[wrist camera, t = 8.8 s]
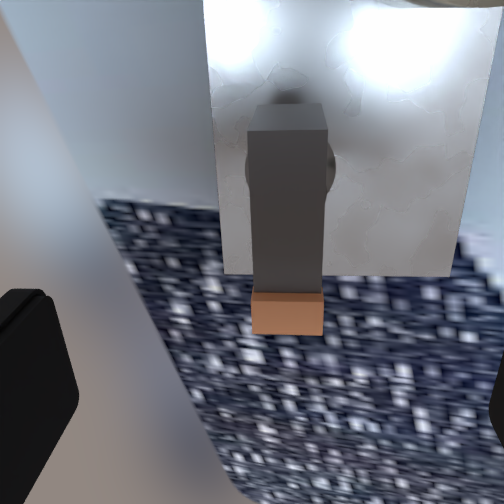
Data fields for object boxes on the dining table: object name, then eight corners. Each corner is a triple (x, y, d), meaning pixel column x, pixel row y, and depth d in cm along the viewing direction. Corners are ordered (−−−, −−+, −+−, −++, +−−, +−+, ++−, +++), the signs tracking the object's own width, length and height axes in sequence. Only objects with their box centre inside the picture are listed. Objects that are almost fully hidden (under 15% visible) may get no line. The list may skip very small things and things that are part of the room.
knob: (254, 92, 16) (232, 135, 11) (326, 90, 16) (342, 133, 11) (259, 238, 19) (244, 333, 14) (320, 238, 19) (330, 335, 13)
